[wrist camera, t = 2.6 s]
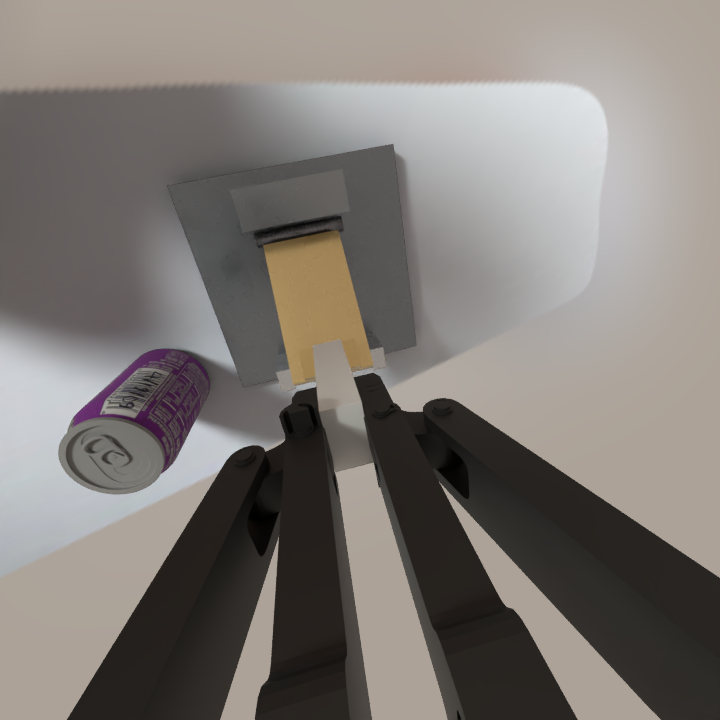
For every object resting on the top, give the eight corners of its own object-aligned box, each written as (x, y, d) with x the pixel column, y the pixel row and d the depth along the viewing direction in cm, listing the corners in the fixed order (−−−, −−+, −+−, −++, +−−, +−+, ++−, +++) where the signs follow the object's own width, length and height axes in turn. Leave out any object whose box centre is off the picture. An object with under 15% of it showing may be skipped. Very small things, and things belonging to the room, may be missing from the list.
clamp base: (245, 380, 34) (236, 408, 29) (173, 187, 27) (145, 180, 22) (411, 340, 36) (430, 360, 31) (388, 147, 28) (408, 132, 23)
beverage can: (115, 372, 32) (21, 453, 21) (174, 331, 31) (109, 393, 20) (171, 421, 35) (115, 515, 24) (226, 385, 34) (194, 464, 23)
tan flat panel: (288, 387, 25) (283, 384, 23) (256, 238, 27) (248, 221, 25) (378, 365, 25) (381, 360, 23) (340, 221, 28) (340, 203, 25)
